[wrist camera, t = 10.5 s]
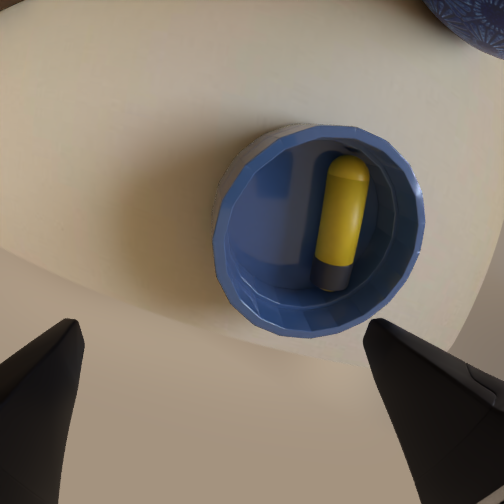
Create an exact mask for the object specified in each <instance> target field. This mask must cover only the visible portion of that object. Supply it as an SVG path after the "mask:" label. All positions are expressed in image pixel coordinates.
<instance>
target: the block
mask: <svg viewBox="0 0 504 504" xmlns="http://www.w3.org/2000/svg"><path fill="white" fill-rule="evenodd" d="M21 1H23V0H0V11H1V10H3V9H5V8H7V7H9V6H12V5H14V4H16V3H18V2H21Z"/></svg>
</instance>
